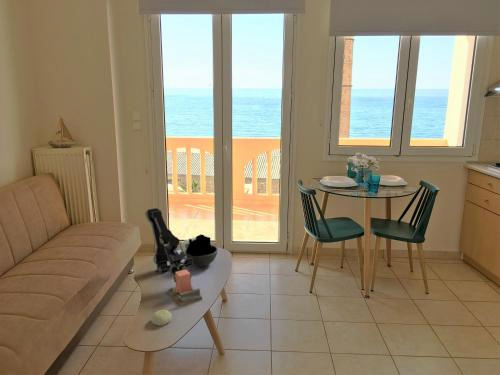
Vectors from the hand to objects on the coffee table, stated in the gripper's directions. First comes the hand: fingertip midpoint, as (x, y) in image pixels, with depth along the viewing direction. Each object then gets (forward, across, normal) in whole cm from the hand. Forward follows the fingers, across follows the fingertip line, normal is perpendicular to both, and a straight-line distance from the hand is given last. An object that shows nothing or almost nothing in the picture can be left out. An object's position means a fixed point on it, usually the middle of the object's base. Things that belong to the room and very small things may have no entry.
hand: (180, 279), depth 204 cm
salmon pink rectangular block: (+6, 0, +2) cm, 6 cm away
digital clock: (-27, +25, +37) cm, 52 cm away
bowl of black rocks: (-13, +24, +23) cm, 36 cm away
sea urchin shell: (+20, -18, -9) cm, 29 cm away
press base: (+8, 0, +2) cm, 8 cm away
